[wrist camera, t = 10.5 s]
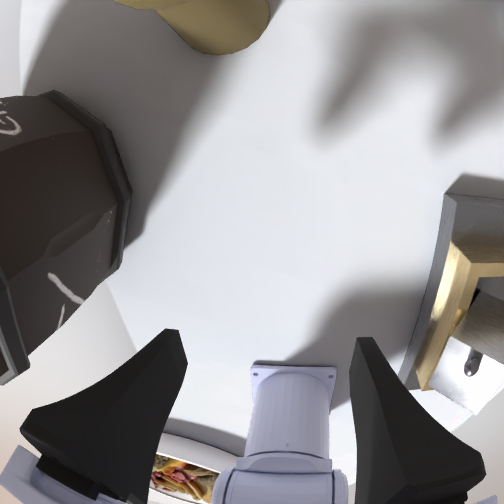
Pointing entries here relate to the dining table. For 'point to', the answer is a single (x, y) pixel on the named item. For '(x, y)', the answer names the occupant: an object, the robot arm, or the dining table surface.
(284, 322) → the dining table surface
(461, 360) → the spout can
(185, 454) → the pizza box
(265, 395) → the robot arm
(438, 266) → the wooden cabinet body
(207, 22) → the pepper shaker
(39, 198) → the barrel
